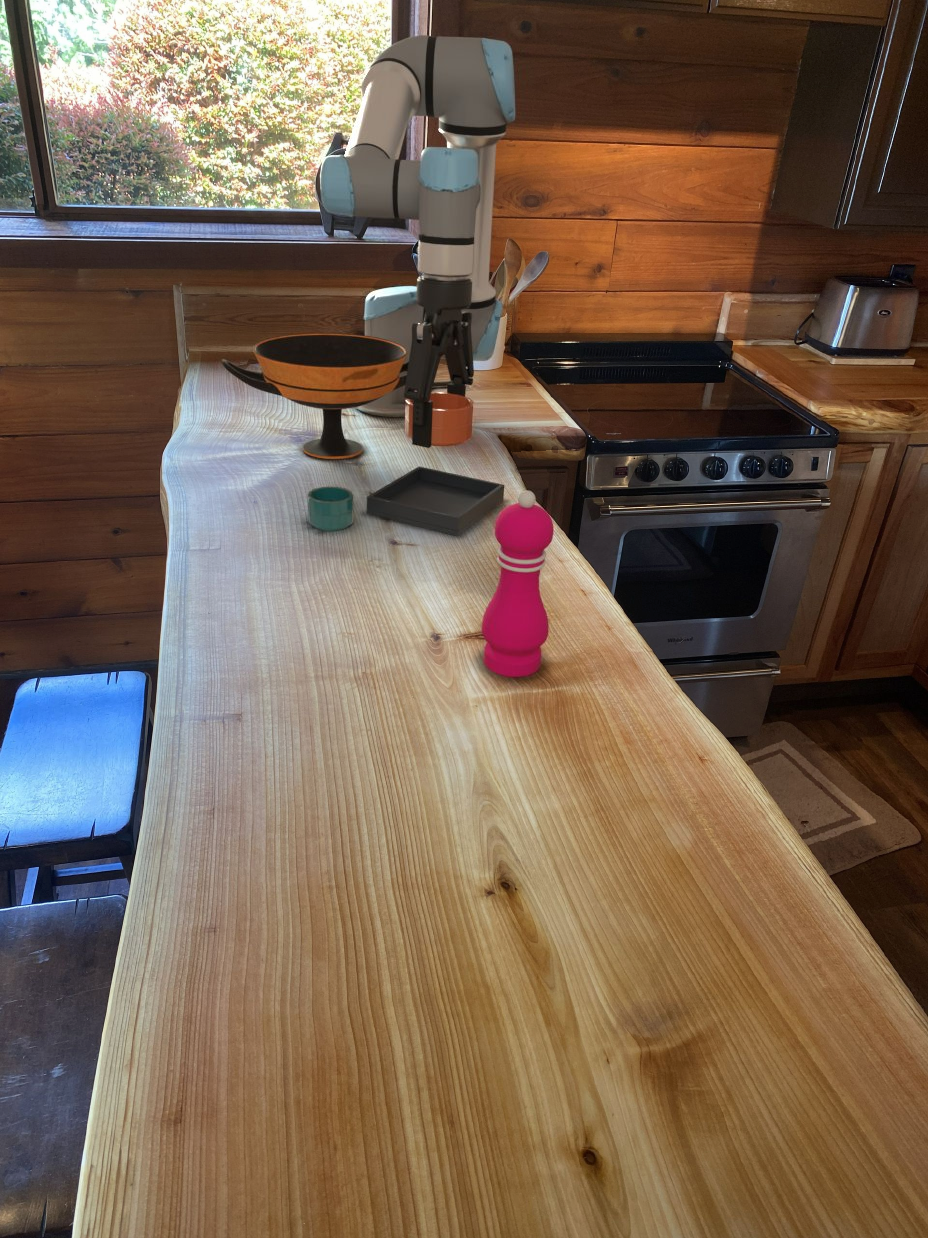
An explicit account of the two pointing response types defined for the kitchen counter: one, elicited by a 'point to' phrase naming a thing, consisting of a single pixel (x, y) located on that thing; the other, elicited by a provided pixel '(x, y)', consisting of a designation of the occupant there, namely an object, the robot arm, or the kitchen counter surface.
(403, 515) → the tray
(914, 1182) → the kitchen counter surface
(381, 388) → the cup
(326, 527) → the bowl small
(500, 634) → the pepper mill
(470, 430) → the bowl large
